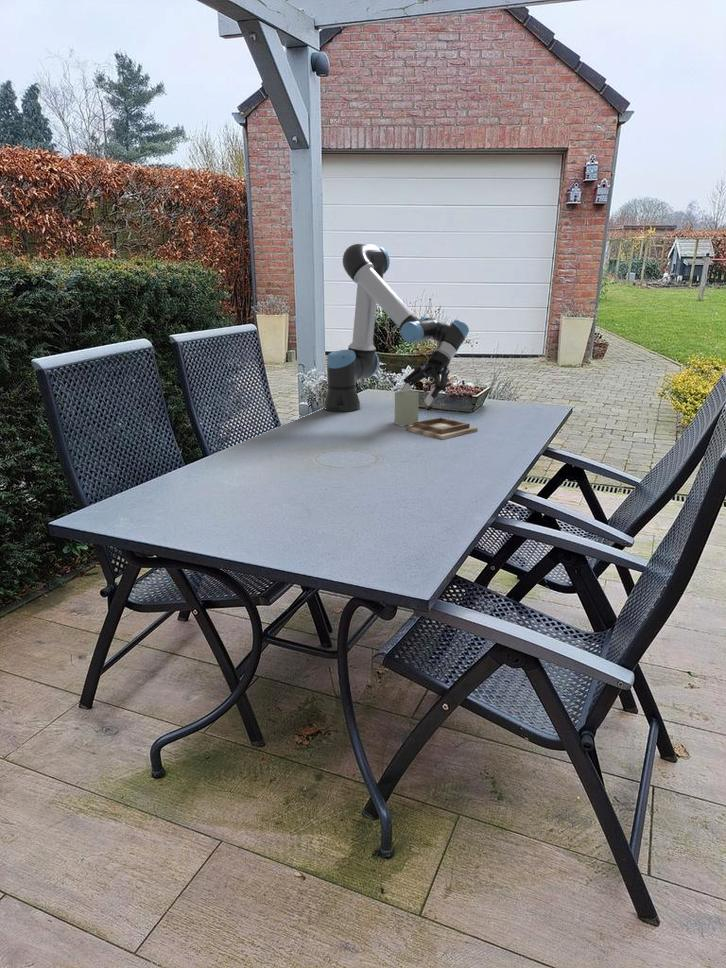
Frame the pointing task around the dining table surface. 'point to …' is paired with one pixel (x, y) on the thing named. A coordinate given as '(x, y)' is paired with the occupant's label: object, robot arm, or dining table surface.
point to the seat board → (441, 428)
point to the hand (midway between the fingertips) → (413, 401)
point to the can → (406, 407)
